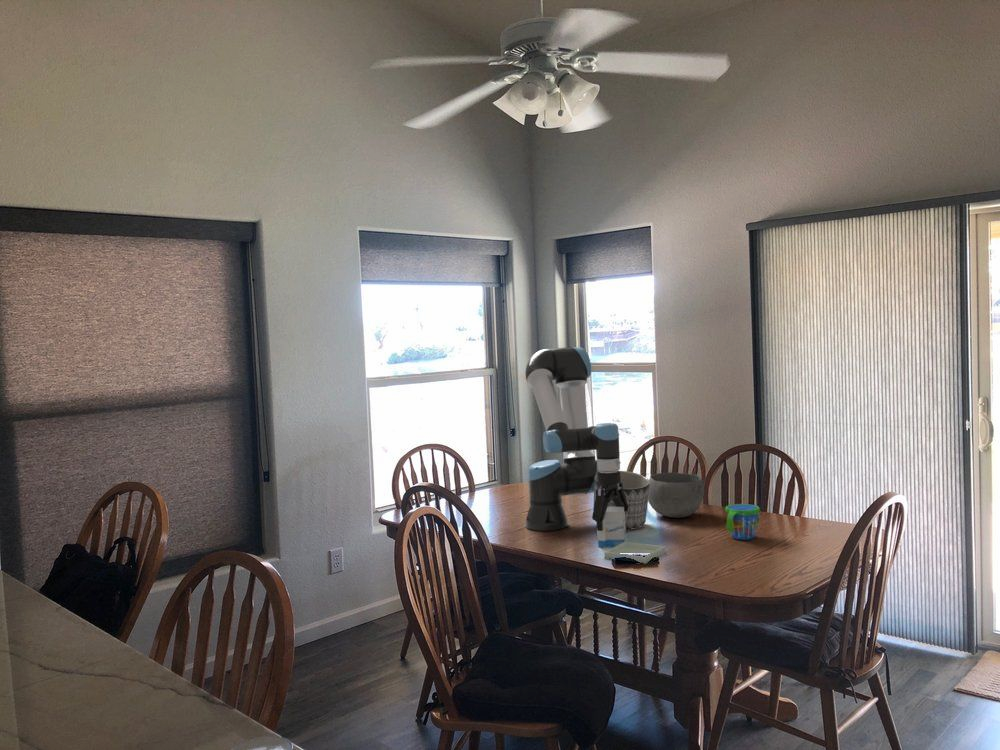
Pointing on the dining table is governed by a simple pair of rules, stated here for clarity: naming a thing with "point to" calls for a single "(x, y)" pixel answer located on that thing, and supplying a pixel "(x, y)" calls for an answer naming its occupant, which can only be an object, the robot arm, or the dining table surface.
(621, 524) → the ink box
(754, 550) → the dining table surface
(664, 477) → the bowl
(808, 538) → the dining table surface
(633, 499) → the planter
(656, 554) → the tray
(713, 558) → the dining table surface
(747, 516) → the snack cup
